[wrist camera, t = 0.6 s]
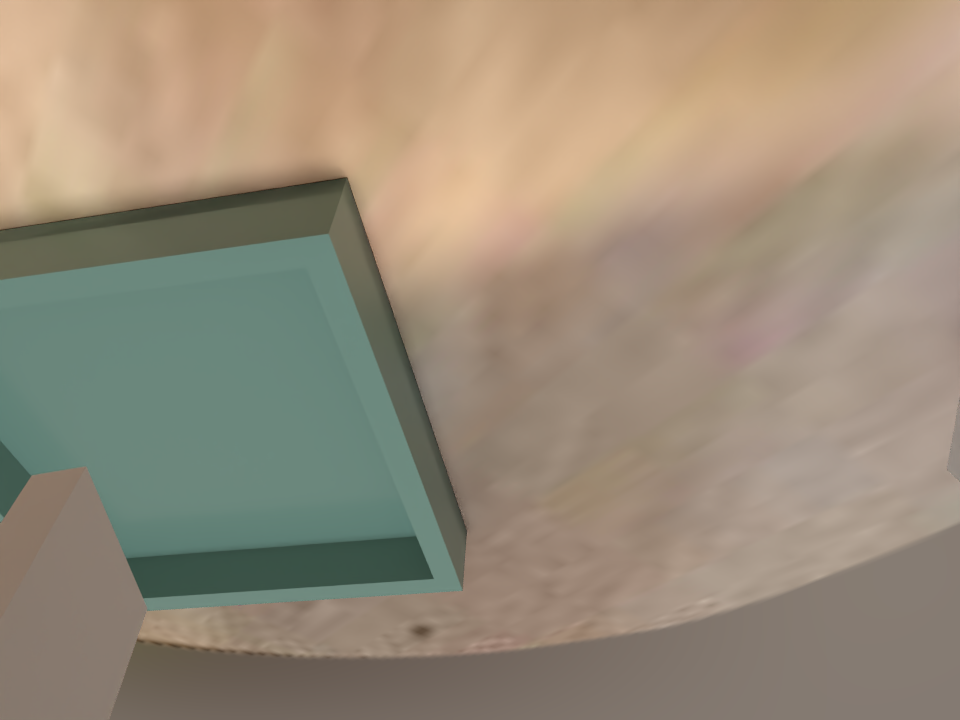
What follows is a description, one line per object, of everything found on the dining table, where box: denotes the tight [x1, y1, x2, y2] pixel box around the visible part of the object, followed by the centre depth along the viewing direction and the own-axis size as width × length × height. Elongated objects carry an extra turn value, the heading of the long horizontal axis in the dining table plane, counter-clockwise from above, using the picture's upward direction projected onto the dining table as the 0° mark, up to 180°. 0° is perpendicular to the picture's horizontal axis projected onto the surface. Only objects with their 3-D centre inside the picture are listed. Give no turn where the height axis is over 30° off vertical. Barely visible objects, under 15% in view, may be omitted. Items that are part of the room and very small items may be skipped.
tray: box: [0, 178, 467, 611], centre depth 31 cm, size 18×18×3 cm
